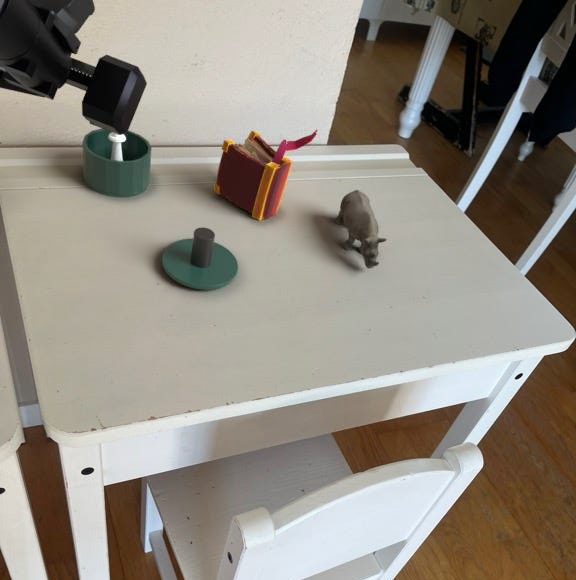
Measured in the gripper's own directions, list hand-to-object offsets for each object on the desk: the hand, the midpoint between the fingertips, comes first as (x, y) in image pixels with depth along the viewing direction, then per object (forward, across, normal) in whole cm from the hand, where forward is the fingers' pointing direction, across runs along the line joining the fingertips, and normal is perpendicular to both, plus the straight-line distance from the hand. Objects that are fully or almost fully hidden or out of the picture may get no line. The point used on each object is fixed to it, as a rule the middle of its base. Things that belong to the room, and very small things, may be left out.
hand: (83, 107), depth 69 cm
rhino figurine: (+18, -33, 0) cm, 38 cm away
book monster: (+21, -18, -2) cm, 27 cm away
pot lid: (+6, -17, +11) cm, 21 cm away
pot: (+14, 0, +4) cm, 15 cm away
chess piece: (+14, 0, +4) cm, 14 cm away
